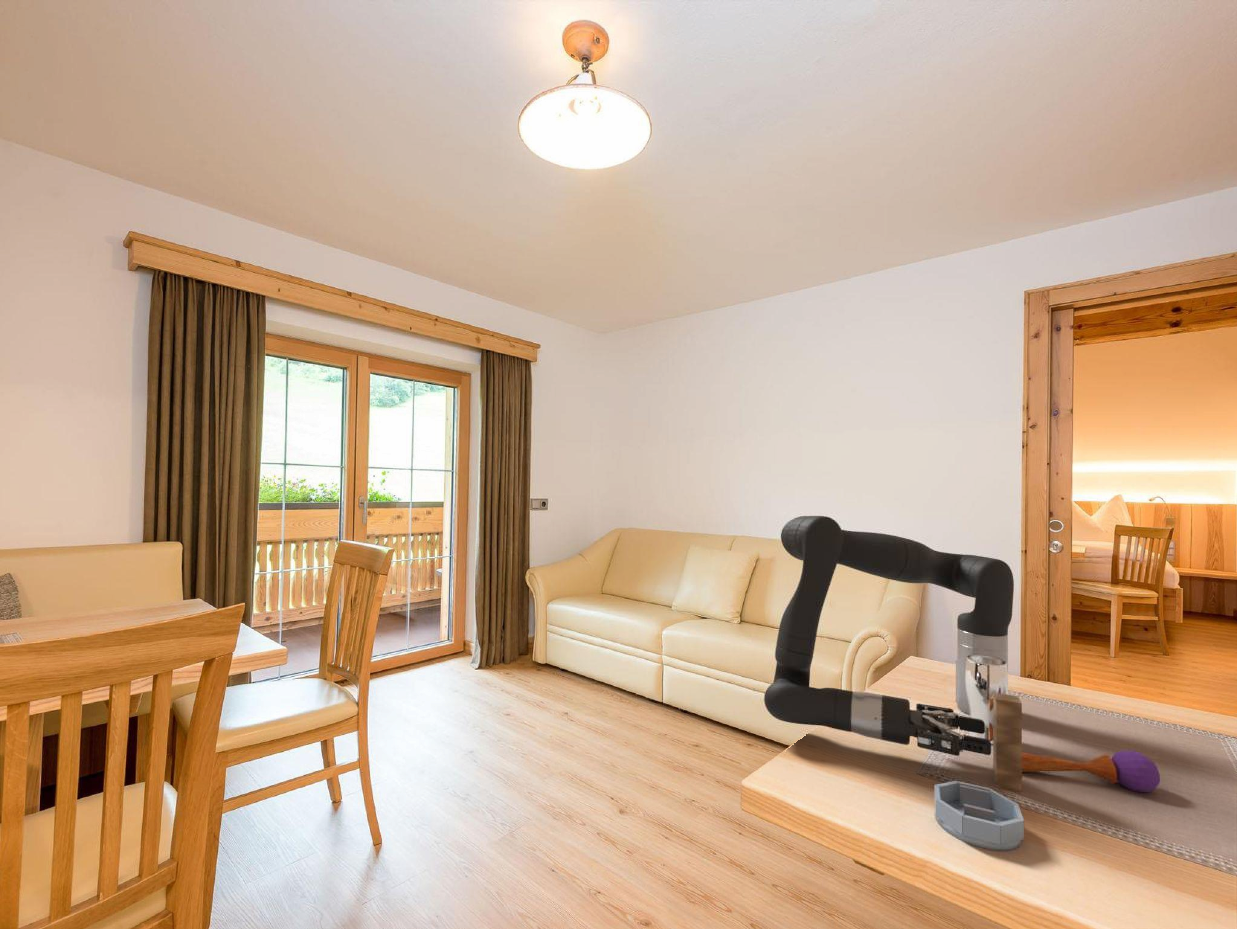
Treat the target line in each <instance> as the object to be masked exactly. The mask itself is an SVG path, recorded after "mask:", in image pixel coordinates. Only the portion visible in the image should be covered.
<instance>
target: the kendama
mask: <svg viewBox="0 0 1237 929" xmlns="http://www.w3.org/2000/svg"><path fill="white" fill-rule="evenodd" d="M1079 771H1080V772H1081V771H1085V772H1088V773H1090V774H1092V775H1094V776H1096V777H1097V778H1101V779H1103V780H1105V781H1107V782H1109V783H1111V784H1116V783H1117V782H1118V783H1120V784H1121V785H1122V786H1123V787H1124V788H1125V789H1128V790H1131V791H1134V792H1138V793H1139V792H1140V793H1148V792H1151V791H1154V790H1155V789H1157V787H1158V785H1160V782H1161V777H1160V776H1161V775H1160V772H1159V769H1158V767H1157V765H1156V763H1155V762H1153V761H1152V759H1150V758H1148V757H1147V756H1146V755H1145V754H1142V753H1140V752H1138V751H1133V750H1120V751H1117V752H1115V753H1114V754H1113V756H1112V757H1110V756H1109V754H1104V755H1101V756H1099V757H1096V758H1094V759H1091V760H1088V761H1086V762H1078V761H1073V760H1069V759H1068V760H1067V759H1060V758H1055V757H1050V756H1044V755H1038V754H1034V753H1033V754H1032V753H1027V752H1022V773H1028V772H1029V773H1032V772H1036V773H1038V772H1079Z"/></svg>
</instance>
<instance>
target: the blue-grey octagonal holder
mask: <svg viewBox="0 0 1237 929" xmlns="http://www.w3.org/2000/svg"><path fill="white" fill-rule="evenodd" d="M933 787H934V788H933V791H934V793H933V794H934V816H935V818H934V819H935V821H936V822H937V823H938V825H939V826H940V828H942V829H943V830H945V832H947V833H948V834H950V835H951V836H953V837H955V838H956V839H957V840H960V841H962V842H964V843H967V844H969V845H972V846H975V847H978V848H981V849H986V850H991V851H1004V852H1005V851H1012V850H1016V849H1018V848H1019V847H1020V846H1021V844H1022V842H1023V841H1022V840H1024V839H1025V819H1024V817H1023V814H1022V812H1021V809H1020V805H1019V804H1018V803H1017V802H1015V801H1013V800H1011V799H1010V798H1008V797H1006V796H1005V795H1003V794H1001V793H999V792H997V791H995V790H994V789H992V788H990V787H987V786H982V785H977V784H974V783H973V784H972V783H968V782H964V781H958V780H953V781H947V782H942V783H939V784H934V786H933Z"/></svg>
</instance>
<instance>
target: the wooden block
mask: <svg viewBox="0 0 1237 929" xmlns="http://www.w3.org/2000/svg"><path fill="white" fill-rule="evenodd" d="M1022 708H1023V704H1022V701H1021V700H1020V698H1019V695H1011V694H1008V695H1007V694H1000V693H994V692H993V748H992V750H993V753H992V754H993V757H992V758H993V759H992V760H993V761H992V762H993V764H992V765H993V768H992V770H993V773H992V777H993V780H994V783H995V784H994V785H995V787H998V788H1000V789H1001V788H1002V789H1006V790H1009V791H1015V792H1019V793H1022V792H1023V781H1022V780H1023V772H1022V753H1023V749H1022V748H1023V744H1022V743H1023V735H1022V734H1023V733H1022V732H1023V730H1022V729H1023V728H1022V727H1023V725H1022V724H1023V722H1022V719H1023V718H1022V715H1023V710H1022Z"/></svg>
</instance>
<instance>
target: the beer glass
mask: <svg viewBox="0 0 1237 929" xmlns="http://www.w3.org/2000/svg"><path fill="white" fill-rule="evenodd" d="M965 683H966V692H967V697H968V702H969V708H970V714H969V716H970V718H976V719H981V720H983V721H984V723H985V732H984V733H983V734H980V733H975V732H969V731H967V736H972V737H978V738H983V739H988V740H989V741H990V742H991V746H992V745H993V692H994V693H1000V694H1007V695H1009V671H1008V672H1007V663H1006V662H1005V661H1004V660H1002V659H999V658H996V657H992V656H986V655H968V656H967V662H966V673H965Z"/></svg>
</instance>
